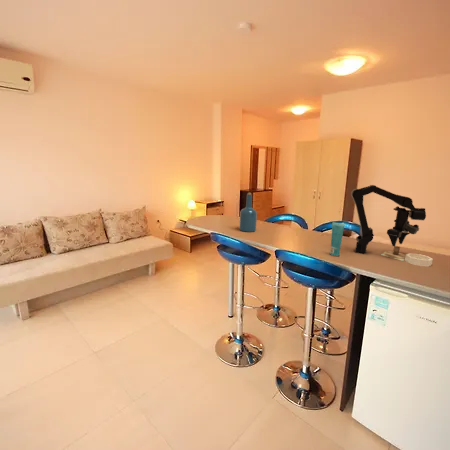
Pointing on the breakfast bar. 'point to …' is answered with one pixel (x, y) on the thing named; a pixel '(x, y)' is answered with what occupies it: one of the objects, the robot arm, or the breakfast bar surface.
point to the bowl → (418, 259)
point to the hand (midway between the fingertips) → (397, 245)
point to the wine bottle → (248, 216)
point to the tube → (336, 238)
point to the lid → (395, 253)
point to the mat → (390, 257)
